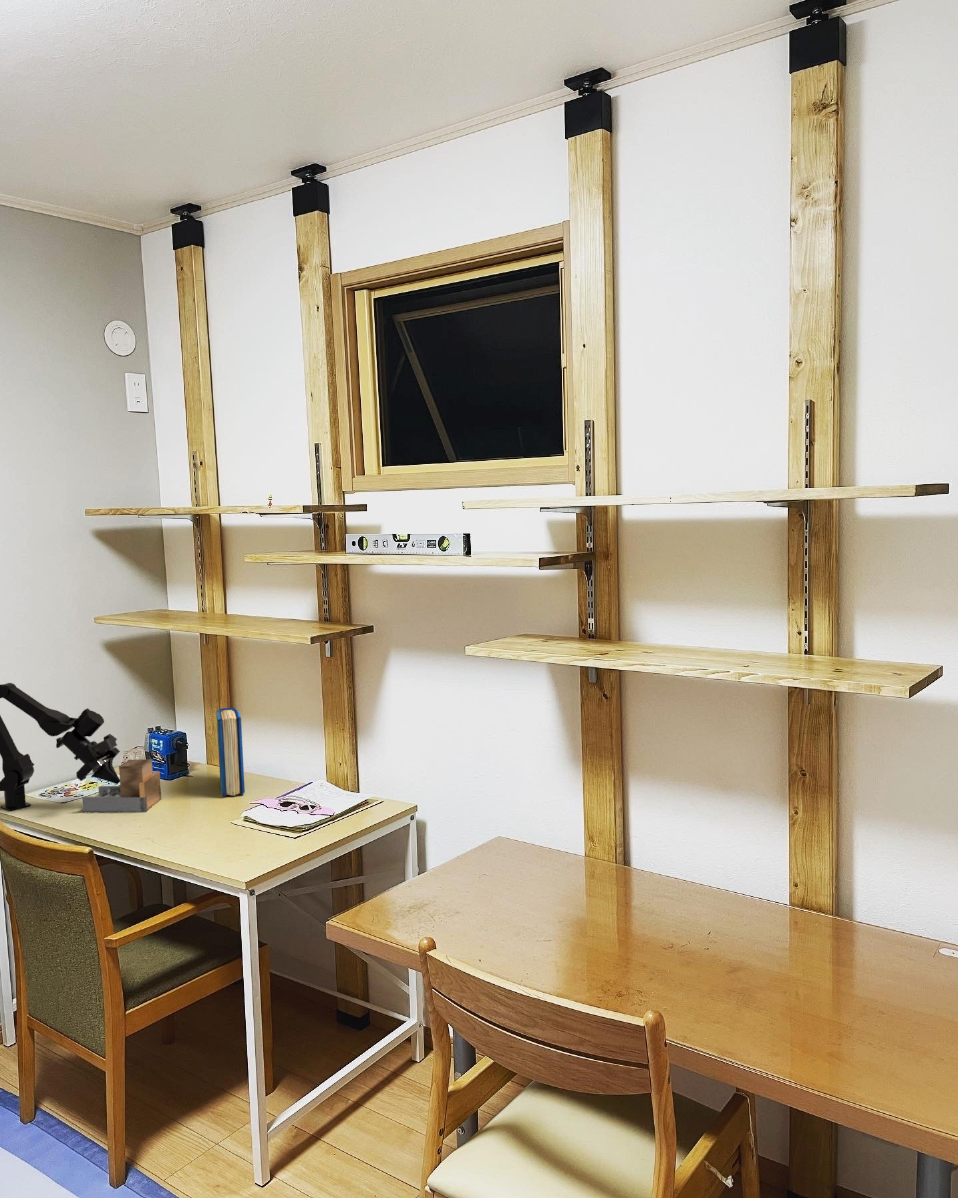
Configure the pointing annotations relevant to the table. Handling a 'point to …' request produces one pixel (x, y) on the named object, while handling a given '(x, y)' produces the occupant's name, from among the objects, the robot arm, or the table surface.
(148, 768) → the brown wooden block
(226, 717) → the book
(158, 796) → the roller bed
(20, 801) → the robot arm
